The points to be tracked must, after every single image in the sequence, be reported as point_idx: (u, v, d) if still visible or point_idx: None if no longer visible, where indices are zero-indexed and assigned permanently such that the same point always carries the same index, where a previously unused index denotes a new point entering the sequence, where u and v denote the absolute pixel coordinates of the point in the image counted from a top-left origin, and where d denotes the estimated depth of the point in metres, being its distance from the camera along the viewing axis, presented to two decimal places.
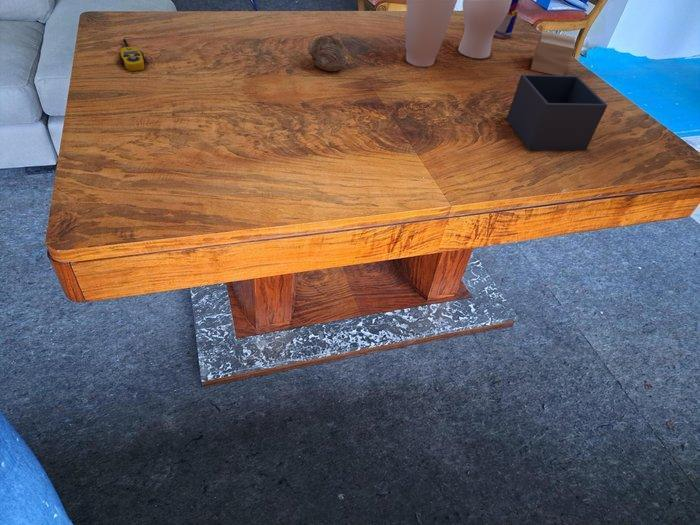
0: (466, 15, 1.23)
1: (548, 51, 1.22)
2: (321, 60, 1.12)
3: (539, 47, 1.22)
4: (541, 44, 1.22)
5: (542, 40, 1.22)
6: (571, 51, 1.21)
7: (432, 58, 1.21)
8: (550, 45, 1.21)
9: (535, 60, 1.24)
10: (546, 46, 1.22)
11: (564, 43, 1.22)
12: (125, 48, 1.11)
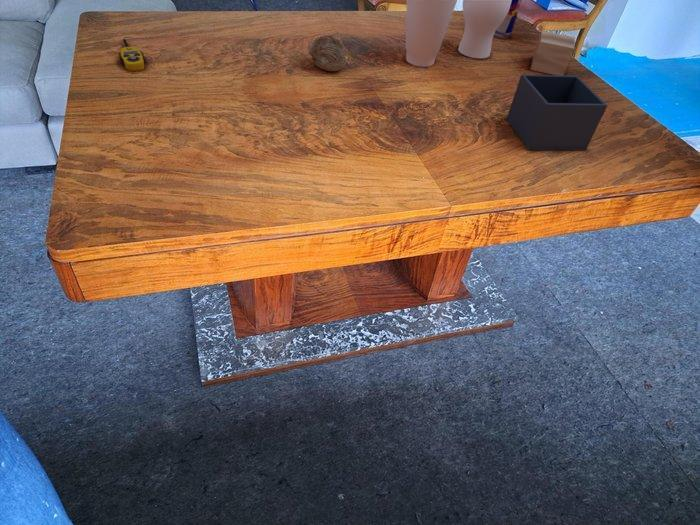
0: (466, 15, 1.23)
1: (548, 51, 1.22)
2: (321, 60, 1.12)
3: (539, 47, 1.22)
4: (541, 44, 1.22)
5: (542, 40, 1.22)
6: (571, 51, 1.21)
7: (432, 58, 1.21)
8: (550, 45, 1.21)
9: (535, 60, 1.24)
10: (546, 46, 1.22)
11: (564, 43, 1.22)
12: (125, 48, 1.11)
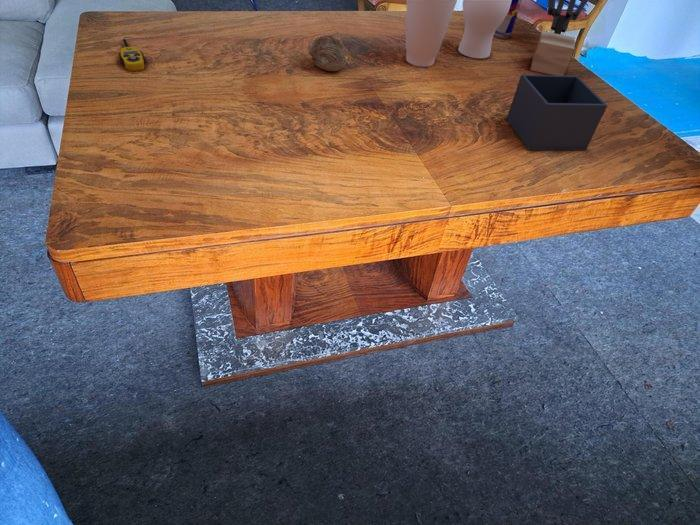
0: (466, 15, 1.23)
1: (548, 51, 1.22)
2: (321, 60, 1.12)
3: (539, 47, 1.22)
4: (541, 44, 1.22)
5: (542, 40, 1.22)
6: (571, 51, 1.20)
7: (432, 58, 1.21)
8: (550, 45, 1.21)
9: (535, 60, 1.24)
10: (546, 46, 1.22)
11: (564, 44, 1.21)
12: (125, 48, 1.11)
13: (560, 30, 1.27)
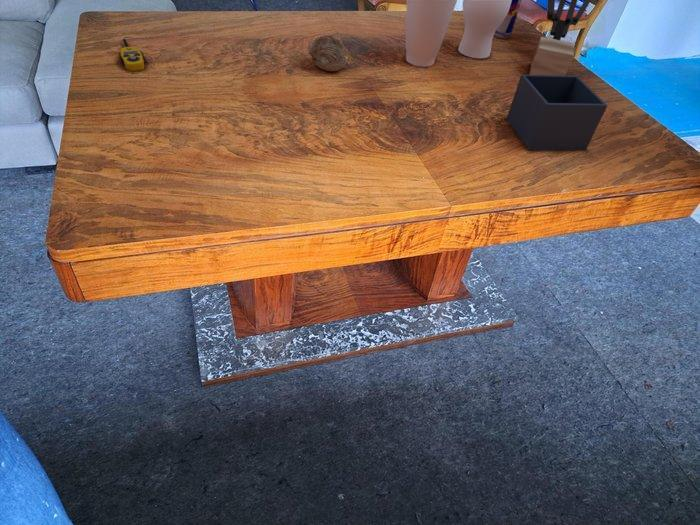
0: (466, 15, 1.23)
1: (547, 57, 1.19)
2: (321, 60, 1.12)
3: (538, 54, 1.19)
4: (540, 50, 1.19)
5: (541, 46, 1.19)
6: (570, 58, 1.18)
7: (432, 58, 1.21)
8: (549, 51, 1.18)
9: (533, 67, 1.21)
10: (545, 53, 1.19)
11: (564, 50, 1.18)
12: (125, 48, 1.11)
13: (560, 35, 1.24)
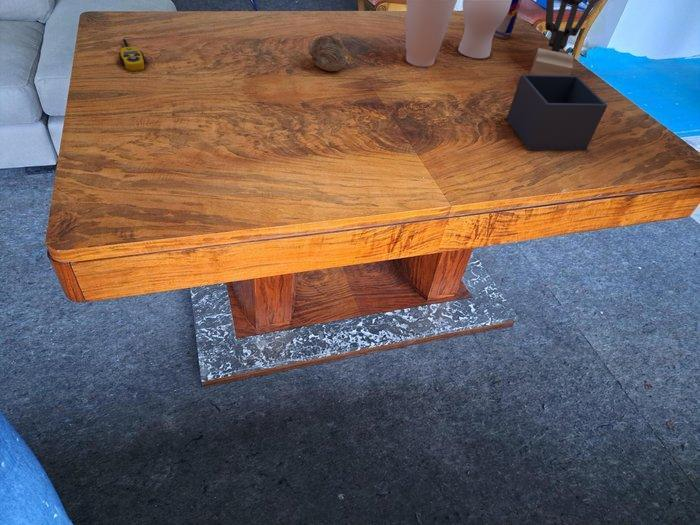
0: (466, 15, 1.23)
1: (544, 70, 1.14)
2: (321, 60, 1.12)
3: (535, 66, 1.14)
4: (537, 63, 1.13)
5: (538, 59, 1.13)
6: (569, 71, 1.12)
7: (432, 58, 1.21)
8: (547, 64, 1.13)
9: None
10: (542, 66, 1.13)
11: (562, 63, 1.13)
12: (125, 48, 1.11)
13: (558, 47, 1.19)
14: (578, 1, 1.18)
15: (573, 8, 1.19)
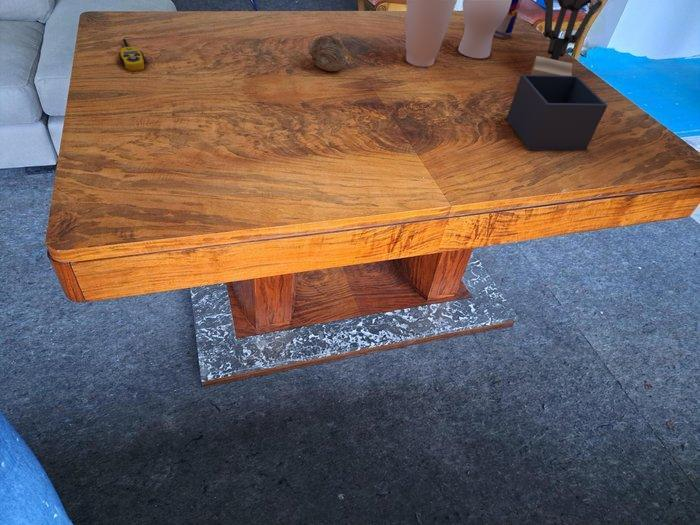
0: (466, 15, 1.23)
1: None
2: (321, 60, 1.12)
3: None
4: (535, 72, 1.09)
5: (536, 67, 1.10)
6: None
7: (432, 58, 1.21)
8: (545, 73, 1.09)
9: None
10: (540, 74, 1.09)
11: (561, 71, 1.09)
12: (125, 48, 1.11)
13: (558, 55, 1.15)
14: (578, 7, 1.15)
15: (573, 15, 1.15)
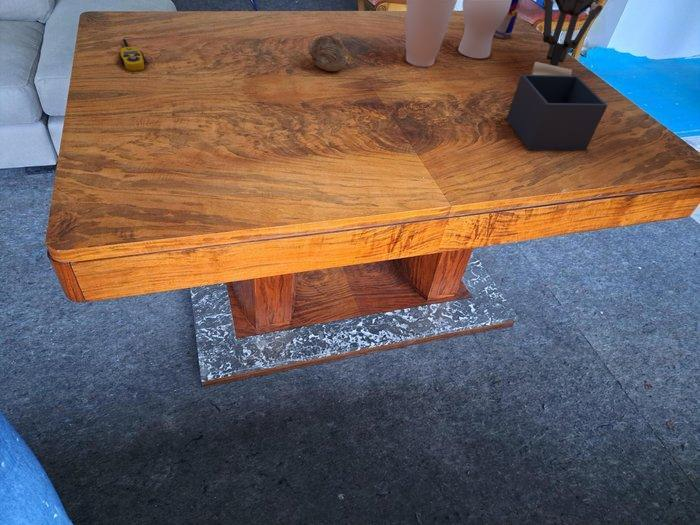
0: (466, 15, 1.23)
1: None
2: (321, 60, 1.12)
3: None
4: None
5: (535, 74, 1.07)
6: None
7: (432, 58, 1.21)
8: None
9: None
10: None
11: None
12: (125, 48, 1.11)
13: (557, 60, 1.13)
14: (578, 12, 1.12)
15: (572, 19, 1.13)
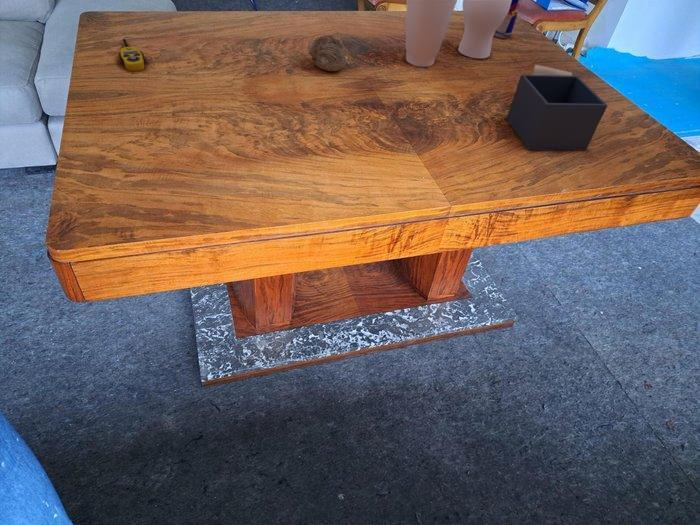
0: (466, 15, 1.23)
1: None
2: (321, 60, 1.12)
3: None
4: None
5: None
6: None
7: (432, 58, 1.21)
8: None
9: None
10: None
11: None
12: (125, 48, 1.11)
13: None
14: None
15: None
